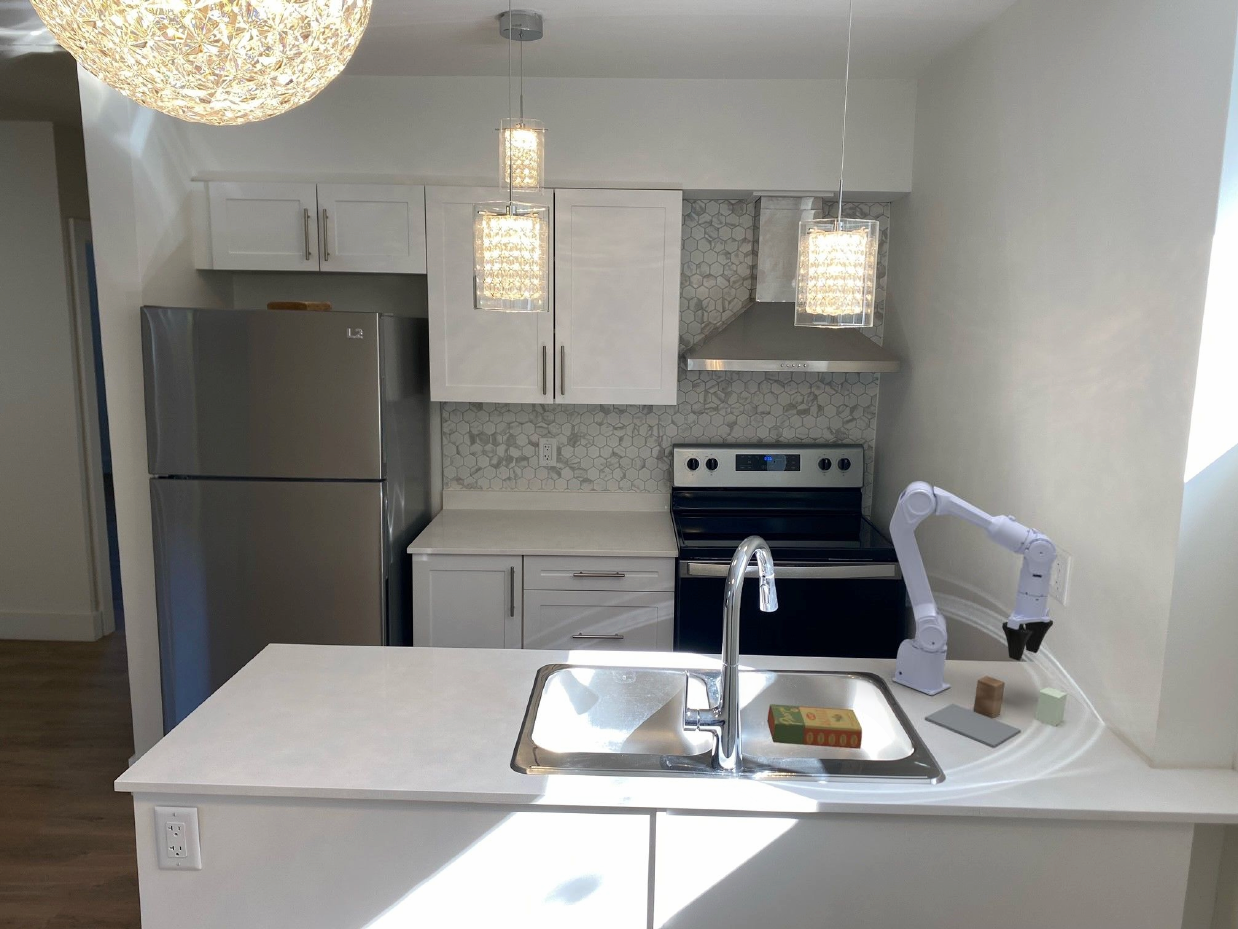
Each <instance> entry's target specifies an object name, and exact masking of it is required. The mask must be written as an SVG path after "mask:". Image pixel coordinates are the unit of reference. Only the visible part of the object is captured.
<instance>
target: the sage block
mask: <svg viewBox="0 0 1238 929" xmlns="http://www.w3.org/2000/svg"><path fill="white" fill-rule="evenodd" d="M1067 695H1068V694H1067V692H1064V691H1061V690H1058V689H1055V688H1052V687H1049V686H1047V687H1045V688H1042V689H1041V690H1039V693H1038V699H1037V704H1036V712H1035V718H1034V719H1035V720H1036V721H1039V722H1041V723H1044V724H1047V725H1050V726H1053V727H1057V725H1060V724H1061V723H1062V722H1063V720H1064V713H1065V709H1066V708H1065V707H1066V703H1067V697H1068V696H1067Z"/></svg>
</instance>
